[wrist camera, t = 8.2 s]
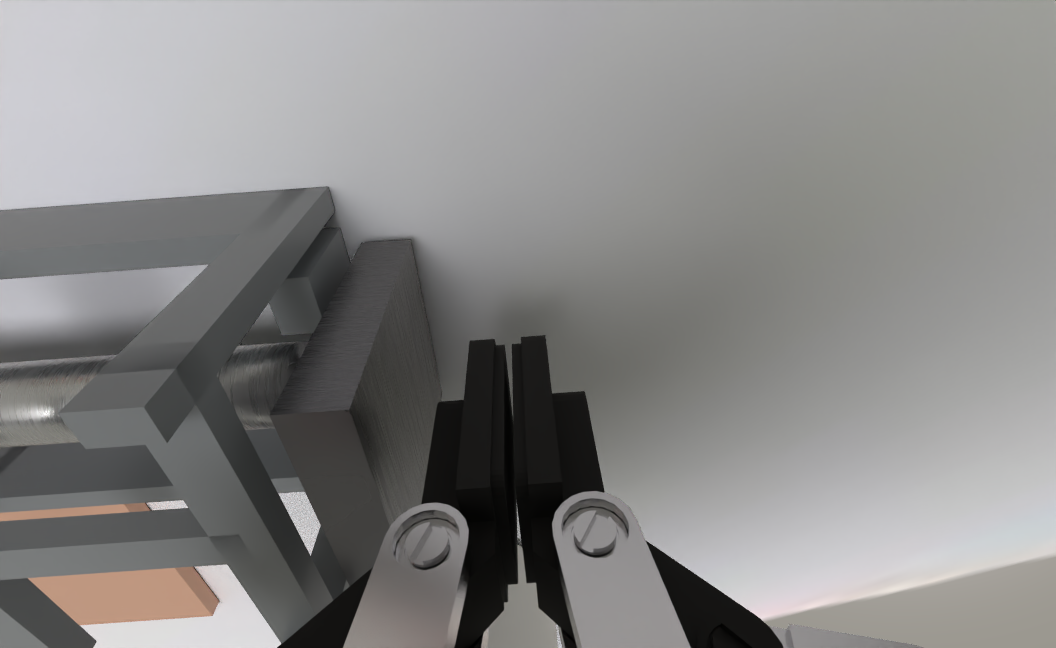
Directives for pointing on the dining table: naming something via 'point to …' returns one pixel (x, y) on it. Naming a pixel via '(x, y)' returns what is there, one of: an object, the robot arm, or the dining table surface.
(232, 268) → the cage
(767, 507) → the dining table surface
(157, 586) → the coaster
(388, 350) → the plunger
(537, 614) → the milk bottle
